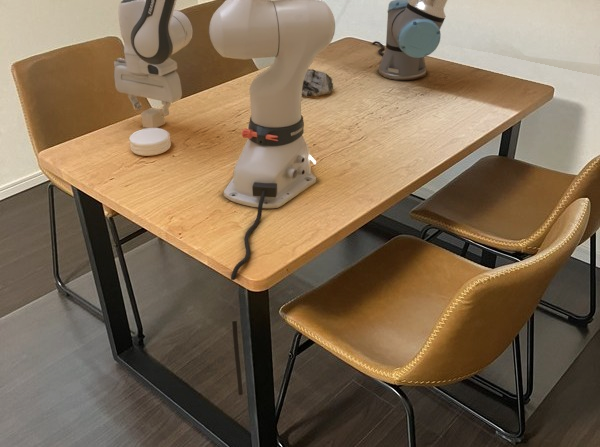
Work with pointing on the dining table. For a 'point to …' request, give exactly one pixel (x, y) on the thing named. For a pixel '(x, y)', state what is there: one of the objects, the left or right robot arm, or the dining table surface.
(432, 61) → the dining table surface
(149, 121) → the light grey cube
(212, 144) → the dining table surface
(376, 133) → the dining table surface
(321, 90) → the rock
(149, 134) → the white round disc
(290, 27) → the left robot arm
